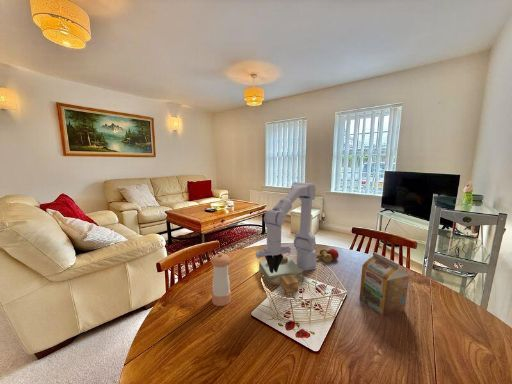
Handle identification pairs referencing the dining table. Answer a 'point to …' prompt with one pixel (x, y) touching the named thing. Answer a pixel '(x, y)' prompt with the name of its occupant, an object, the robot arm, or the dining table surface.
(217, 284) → the salt shaker
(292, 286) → the tan block
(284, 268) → the lid
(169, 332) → the dining table surface
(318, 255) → the kendama
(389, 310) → the milk carton
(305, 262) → the robot arm
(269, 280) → the toolbox
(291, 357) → the dining table surface
